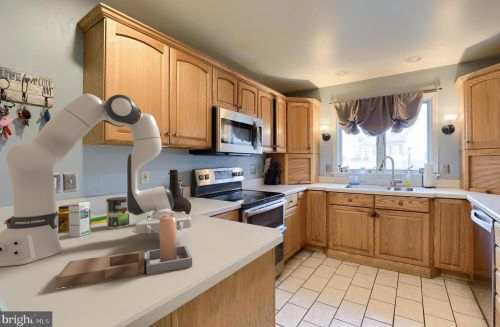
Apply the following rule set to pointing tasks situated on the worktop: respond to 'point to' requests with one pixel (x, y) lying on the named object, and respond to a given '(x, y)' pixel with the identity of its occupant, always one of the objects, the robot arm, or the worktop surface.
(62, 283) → the partly covered box
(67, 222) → the condiment
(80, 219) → the syrup box
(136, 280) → the worktop surface
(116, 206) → the coffee can
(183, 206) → the dark brown vase
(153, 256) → the grey square frame
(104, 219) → the dish sponge
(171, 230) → the peach cylinder
